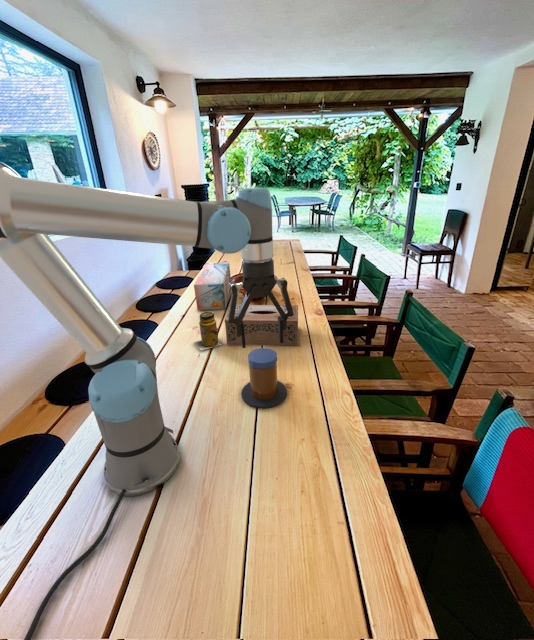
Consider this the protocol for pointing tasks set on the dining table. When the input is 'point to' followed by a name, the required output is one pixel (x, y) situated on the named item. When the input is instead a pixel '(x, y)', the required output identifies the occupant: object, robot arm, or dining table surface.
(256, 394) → the jar
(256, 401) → the coaster
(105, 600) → the dining table surface
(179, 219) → the robot arm
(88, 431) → the dining table surface
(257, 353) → the lid
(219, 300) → the soda box
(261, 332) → the tissue box cover
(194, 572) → the dining table surface
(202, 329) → the condiment
